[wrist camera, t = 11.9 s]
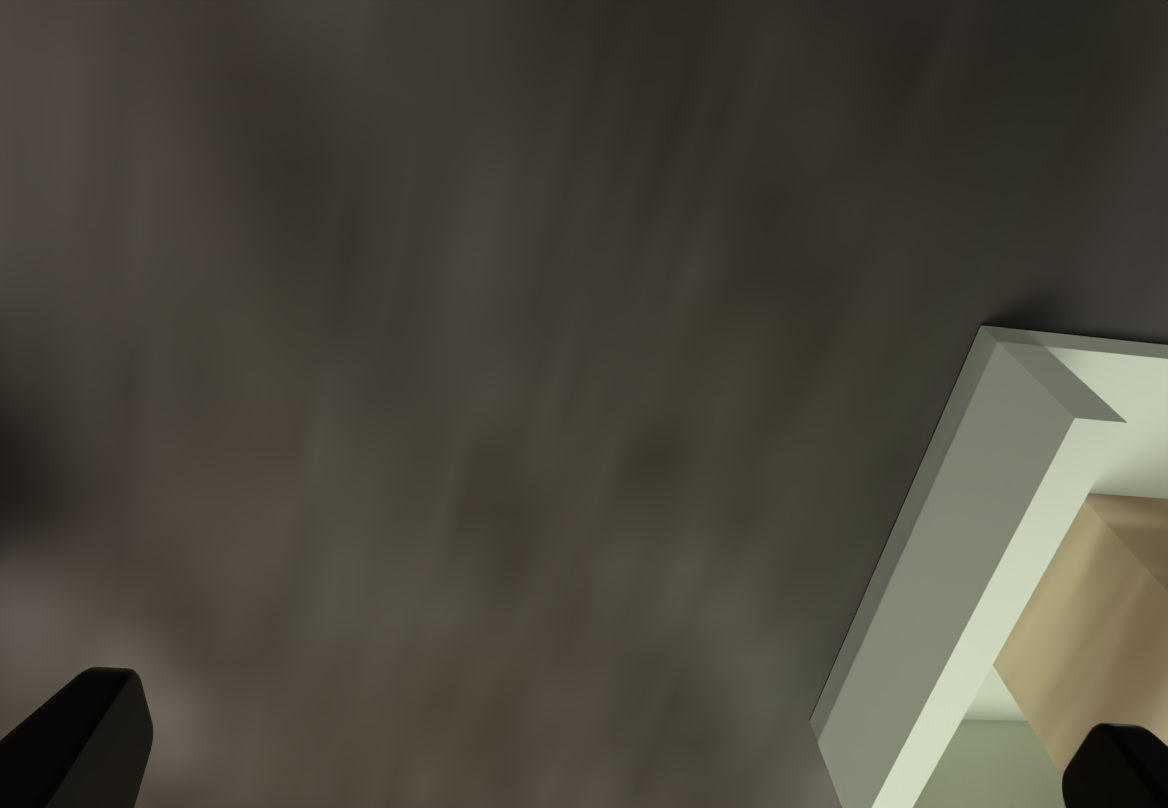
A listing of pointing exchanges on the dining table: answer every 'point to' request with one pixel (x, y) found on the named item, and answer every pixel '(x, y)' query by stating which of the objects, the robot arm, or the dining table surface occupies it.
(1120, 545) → the beige rectangular block
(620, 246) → the dining table surface
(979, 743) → the bay
